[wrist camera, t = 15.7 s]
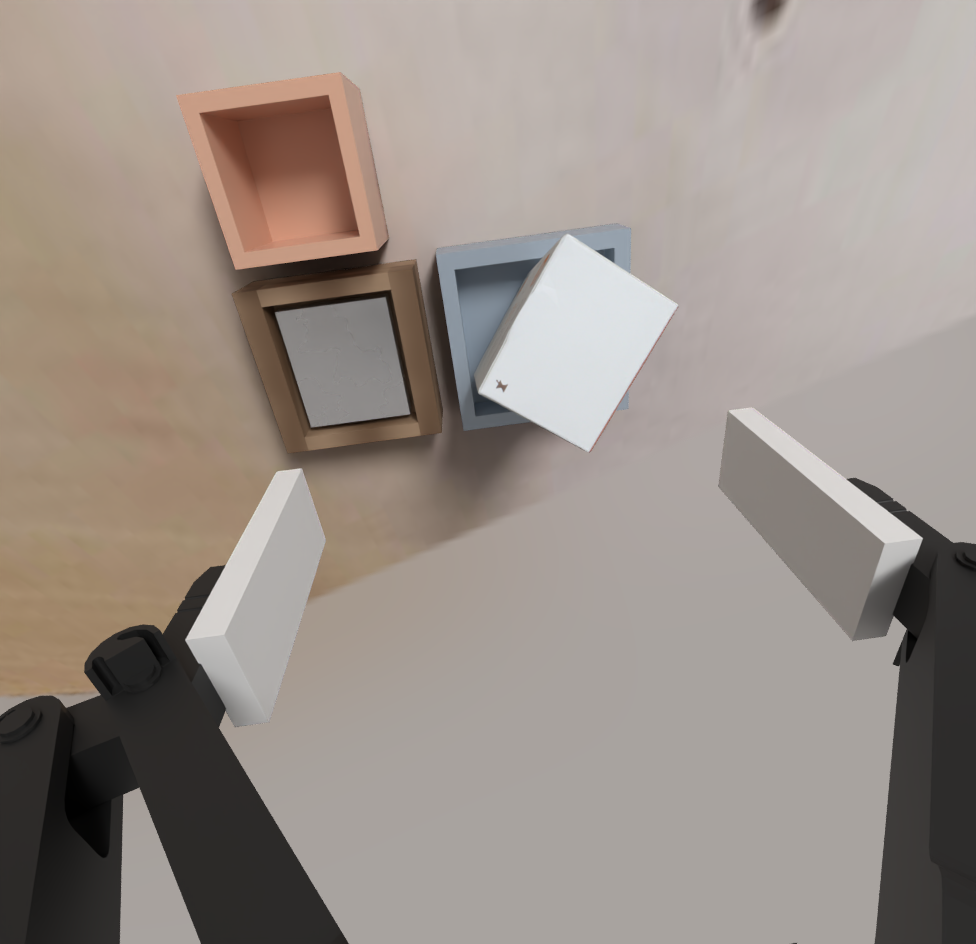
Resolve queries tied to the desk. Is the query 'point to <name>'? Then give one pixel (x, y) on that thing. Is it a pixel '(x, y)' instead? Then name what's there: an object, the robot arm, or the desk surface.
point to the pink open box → (288, 169)
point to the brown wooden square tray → (391, 278)
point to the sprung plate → (346, 359)
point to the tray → (501, 302)
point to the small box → (572, 342)
